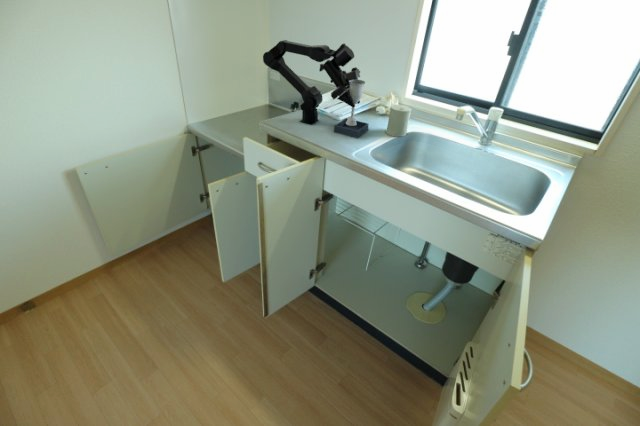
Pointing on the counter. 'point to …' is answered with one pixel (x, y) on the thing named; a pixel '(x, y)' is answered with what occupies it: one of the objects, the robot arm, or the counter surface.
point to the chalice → (355, 97)
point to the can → (398, 120)
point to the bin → (351, 128)
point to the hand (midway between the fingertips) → (356, 105)
